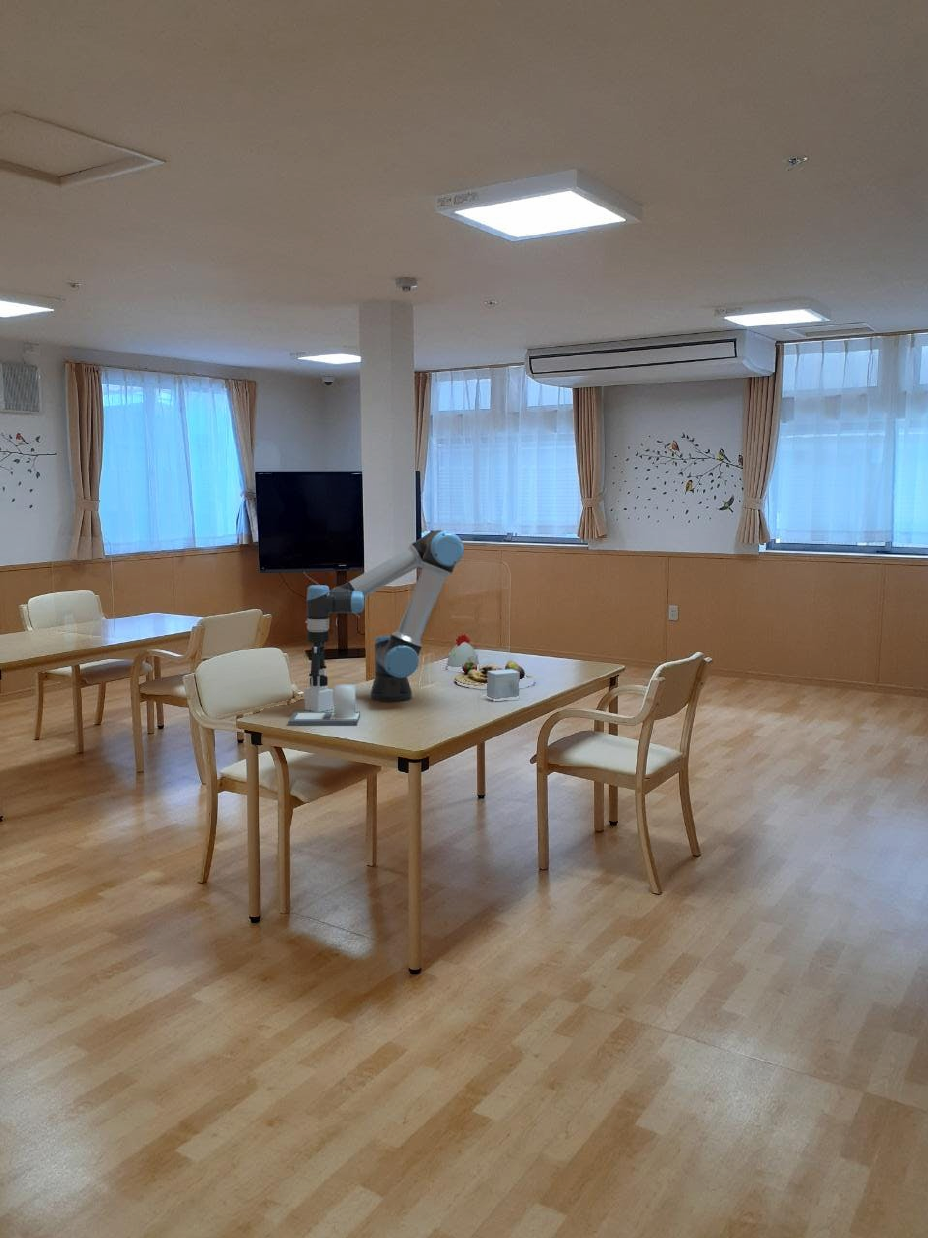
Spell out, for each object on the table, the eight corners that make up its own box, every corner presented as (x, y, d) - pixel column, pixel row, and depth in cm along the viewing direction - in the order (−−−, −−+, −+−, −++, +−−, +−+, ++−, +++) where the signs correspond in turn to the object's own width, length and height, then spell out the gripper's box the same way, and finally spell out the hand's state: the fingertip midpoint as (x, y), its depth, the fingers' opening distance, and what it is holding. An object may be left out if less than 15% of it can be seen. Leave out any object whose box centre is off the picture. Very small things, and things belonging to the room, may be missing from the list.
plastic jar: (356, 713, 339) (356, 684, 338) (354, 718, 332) (354, 688, 331) (335, 713, 339) (335, 684, 338) (333, 718, 332) (332, 688, 331)
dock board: (360, 716, 343) (360, 711, 343) (356, 725, 329) (356, 720, 329) (294, 716, 342) (294, 711, 342) (288, 725, 329) (288, 720, 328)
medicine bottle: (333, 709, 353) (333, 675, 351) (317, 712, 347) (317, 678, 346) (320, 706, 357) (319, 673, 356) (304, 709, 352) (303, 675, 351)
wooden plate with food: (438, 681, 406) (438, 661, 405) (500, 672, 425) (500, 652, 424) (488, 696, 381) (488, 674, 380) (551, 685, 400) (552, 665, 399)
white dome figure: (440, 669, 431) (440, 634, 429) (461, 665, 442) (461, 631, 440) (465, 673, 422) (465, 638, 420) (486, 669, 433) (486, 634, 431)
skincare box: (494, 702, 366) (494, 673, 364) (486, 699, 372) (486, 670, 370) (520, 700, 370) (520, 671, 369) (511, 696, 376) (512, 668, 375)
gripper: (311, 625, 361) (311, 684, 364) (302, 635, 336) (302, 698, 339) (332, 625, 361) (332, 684, 364) (324, 635, 337) (324, 698, 339)
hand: (317, 691), depth 352 cm, fingers open, 13 cm apart
